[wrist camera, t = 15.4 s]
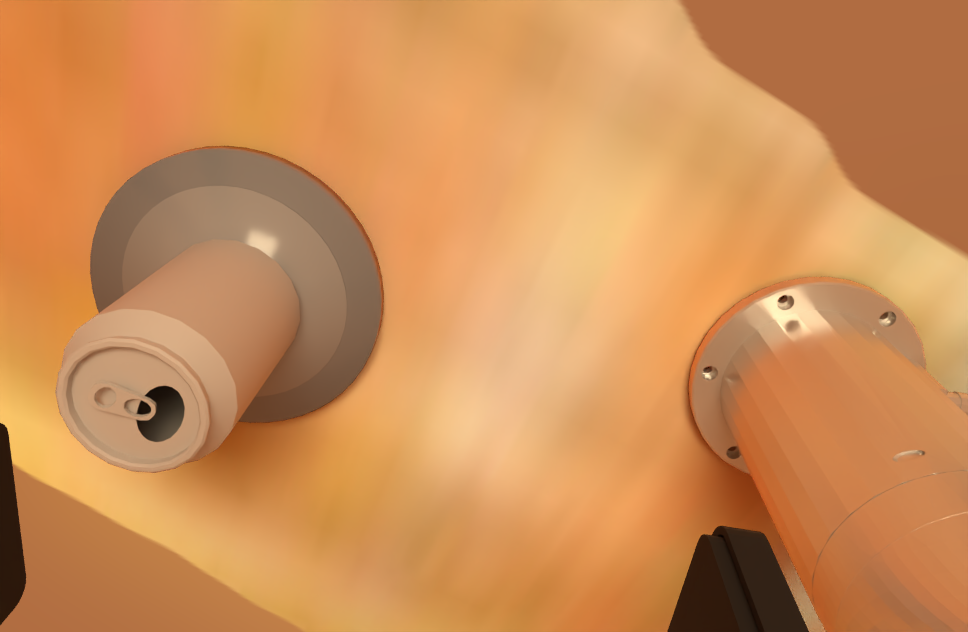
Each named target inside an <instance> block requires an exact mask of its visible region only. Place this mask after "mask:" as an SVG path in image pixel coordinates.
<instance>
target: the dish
mask: <svg viewBox="0 0 968 632" xmlns="http://www.w3.org/2000/svg"><path fill="white" fill-rule="evenodd" d="M212 239H220V240H236V241H239V242H242V243H244V244H247V245H250V246H253V247H255V248H258V249H259V250H261V251H262V252H264V253H265V254H266V255H268V256H269V257H271V258H272V259H273V260H275V261H276V262H277V263H278V264H279V265H280V267H281V268H282V269H283V270H284V272H285V273H286V274H287V275H288V277H289V278H290V279H291V281H292V284H293V286H294V289H295V291H296V294H297V296H298V299H299V308H300V322H299V326H298V329H297V332H296V336H295V339H294V340H293V342H292V343H291V345H290V346H289V347H288V349H287V350H286V352H285V353H284V355H283V356H282V358H281V359H280V361H279V362H278V364H277V365H276V366H275V368H274V369H273V371H272V372H271V374H270V375H269V377H268V378H267V380H266V381H265V383H264V384H263V386H262V387H261V388H260V390H259V391H258V393H257V394H256V396H255V397H254V399H253V400H252V402H251V403H250V405H249V406H248V407H247V409H246V410H245V412H244V413H243V415H242V416H241V418H240V419H239V421H241V422H250V423H251V422H274V421H282V420H287V419H291V418H295V417H298V416H302V415H304V414H307V413H309V412H312V411H314V410H316V409H318V408H320V407H322V406H324V405H325V404H327V403H329V402H330V401H332V400H333V399H334V398H336V397H337V396H338V395H340V394H341V393H342V392H343V391H344V390H345V389H346V388H347V387H348V386H349V385H350V384H351V383H352V382H353V381H354V380H355V378H356V377H357V376H358V374H359V373H360V371H361V370H362V369H363V367H364V365H365V363H366V361H367V359H368V358H369V356H370V354H371V352H372V349H373V347H374V345H375V342H376V339H377V336H378V333H379V330H380V326H381V321H382V315H383V302H384V292H383V282H382V275H381V271H380V267H379V263H378V259H377V256H376V254H375V251H374V249H373V246H372V244H371V241H370V239H369V237H368V236H367V234H366V232H365V230H364V228H363V226H362V225H361V223H360V222H359V220H358V219H357V218H356V216H355V215H354V213H353V212H352V211H351V209H350V208H349V207H348V206H347V205H346V204H345V202H344V201H343V200H342V199H341V198H340V197H339V196H338V195H337V194H336V193H335V192H334V191H333V190H332V189H330V188H329V187H328V186H327V185H326V184H325V183H323V182H322V181H321V180H320V179H318V178H317V177H315V176H314V175H312V174H311V173H309V172H308V171H306V170H305V169H303V168H301V167H299V166H297V165H295V164H293V163H291V162H289V161H288V160H286V159H283V158H280V157H277V156H275V155H272V154H269V153H267V152H262V151H258V150H254V149H249V148H243V147H233V146H208V147H202V148H196V149H190V150H186V151H183V152H180V153H177V154H174V155H171V156H169V157H166V158H164V159H162V160H160V161H158V162H156V163H154V164H152V165H150V166H148V167H146V168H144V169H142V170H141V171H140V172H138V173H137V174H136V175H134V176H133V177H131V178H130V179H129V180H128V181H127V182H126V183H125V184H124V185H123V186H122V187H121V188H120V189H119V190H118V191H117V192H116V193H115V195H114V196H113V197H112V199H111V200H110V202H109V203H108V204H107V206H106V208H105V210H104V212H103V214H102V216H101V218H100V220H99V222H98V225H97V228H96V231H95V234H94V238H93V243H92V250H91V263H90V274H91V282H92V289H93V294H94V298H95V301H96V305H97V309H98V311H99V313H100V312H101V311H103V310H104V309H105V308H107V307H108V306H109V305H111V304H112V303H114V302H115V301H116V300H118V299H119V298H120V297H122V296H123V295H124V294H126V293H127V292H129V291H130V290H131V289H133V288H134V287H135V286H137V285H138V284H139V283H141V282H142V281H144V280H145V279H146V278H148V277H149V276H150V275H152V274H153V273H154V272H156V271H157V270H159V269H160V268H161V267H163V266H164V265H165V264H167V263H168V262H169V261H171V260H172V259H174V258H175V257H176V256H178V255H179V254H181V253H182V252H183V251H185V250H186V249H188V248H189V247H191V246H192V245H193V244H197V243H201V242H205V241H209V240H212Z"/></svg>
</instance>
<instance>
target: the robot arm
mask: <svg viewBox="0 0 968 632" xmlns="http://www.w3.org/2000/svg"><path fill="white" fill-rule="evenodd" d="M783 295H785V297H784V298H783V299H782V300H778V299H779V298H780V297H781V296H783ZM883 313H884V314H883ZM882 314H883V315H882ZM881 315H882V316H881ZM708 366H710V368H708V369H704V368H706V367H708ZM689 398H690V406H691V409H692V413H693V416H694V419H695V422H696V424H697V426H698V428H699V430H700V432H701V435H702V437H703V438H704V440H705V441H706V442H707V444H708V445H709V446H710V447H711V449H712V450H713V451H714V452H715V453H716V454H717V455H718V456H719V457H720V458H721V459H722V460H724V461H725V462H726V463H728V464H730V465H731V466H733V467H735V468H737V469H738V470H740V471H742V472H744V473H747V474H750V475H751V476H752V478H753V481H754V483H755V485H756V487H757V489H758V491H759V493H760V495H761V497H762V499H763V502H764V504H765V506H766V508H767V510H768V512H769V514H770V516H771V518H772V521H773V523H774V525H775V527H776V529H777V531H778V533H779V535H780V537H781V540H782V542H783V544H784V546H785V548H786V550H787V552H788V554H789V556H790V558H791V561H792V563H793V565H794V567H795V569H796V571H797V573H798V575H799V577H800V580H801V582H802V584H803V586H804V588H805V590H806V592H807V594H808V596H809V599H810V601H811V603H812V605H813V607H814V609H815V611H816V613H817V615H818V617H819V620H820V621H821V623H822V625H823V627H824V629H825V631H826V632H968V394H967V393H960V392H948V391H947V390H946V389H945V388H944V387H943V386H942V385H941V384H940V383H939V382H938V381H936V380H935V379H934V378H933V377H932V376H931V375H930V374H929V373H928V372H927V371H926V359H925V354H924V349H923V344H922V341H921V339H920V337H919V335H918V333H917V330H916V328H915V326H914V325H913V324H912V322H911V321H910V320H909V319H908V317H907V316H906V315H905V313H904V312H903V311H902V310H901V309H900V308H898V307H897V306H896V305H895V304H894V303H893V302H891V301H890V300H889V299H888V298H886V297H885V296H883V295H881V294H880V293H878V292H877V291H875V290H874V289H872V288H870V287H867V286H865V285H862V284H859V283H856V282H854V281H851V280H845V279H839V278H833V277H804V278H799V279H794V280H788V281H783V282H780V283H777V284H775V285H772V286H769V287H766V288H764V289H761V290H759V291H757V292H755V293H754V294H752V295H750V296H748V297H747V298H745V299H743V300H741V301H740V302H739V303H737V304H736V305H735V306H734V307H732V308H731V309H730V310H729V311H727V312H726V313H725V314H724V315H722V317H721V318H720V319H719V320H718V321H717V322H716V323H715V325H714V326H713V327H712V328H711V329H710V330H709V332H708V333H707V335H706V336H705V338H704V340H703V341H702V343H701V345H700V347H699V348H698V350H697V353H696V356H695V358H694V361H693V364H692V367H691V372H690V380H689ZM25 584H26V573H25V564H24V556H23V549H22V540H21V532H20V524H19V516H18V508H17V499H16V492H15V484H14V475H13V467H12V459H11V451H10V443H9V435H8V431H7V428H6V427H5V425H4V424H1V423H0V625H1V624H2V622H3V621H4V620H5V619H6V618H7V617H8V615H9V614H10V613H11V612H12V611H13V609H14V608H15V606H16V605H17V604H18V603H19V601H20V599H21V597H22V594H23V591H24V589H25ZM668 632H809V631H808V629H807V626H806V624H805V622H804V620H803V618H802V615H801V613H800V611H799V609H798V606H797V604H796V602H795V600H794V597H793V595H792V593H791V591H790V589H789V586H788V584H787V582H786V580H785V577H784V575H783V573H782V571H781V568H780V566H779V564H778V562H777V560H776V557H775V555H774V553H773V551H772V548H771V546H770V544H769V542H768V540H767V538H766V536H765V535H764V534H763V533H761V532H757V531H751V530H744V529H738V528H732V527H725V526H719V527H717V528H716V529H715V530H714V532H713V534H712V535H705V534H704V535H702V536H701V537H700V539H699V541H698V543H697V546H696V549H695V552H694V555H693V558H692V561H691V564H690V567H689V570H688V573H687V576H686V579H685V582H684V585H683V587H682V590H681V593H680V596H679V599H678V602H677V605H676V608H675V611H674V614H673V617H672V620H671V623H670V626H669V629H668Z"/></svg>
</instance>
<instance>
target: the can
mask: <svg viewBox="0 0 968 632" xmlns="http://www.w3.org/2000/svg"><path fill="white" fill-rule="evenodd" d="M299 322H300V308H299V299H298V296H297V294H296V291H295V289H294V286H293V284H292V281H291V279H290V278H289V277H288V275H287V274H286V273H285V272H284V270H283V269H282V268H281V267H280V265H279V264H278V263H277V262H276V261H275V260H273V259H272V258H271V257H269V256H268V255H266V254H265V253H264V252H262V251H261V250H259V249H258V248H255V247H253V246H250V245H247V244H244V243H242V242H239V241H236V240H220V239H212V240H209V241H205V242H201V243H197V244H193V245H192V246H191V247H189V248H188V249H186V250H185V251H183V252H182V253H181V254H179V255H178V256H176V257H175V258H174V259H172V260H171V261H169V262H168V263H167V264H165V265H164V266H163V267H161V268H160V269H159V270H157V271H156V272H154V273H153V274H152V275H150V276H149V277H148V278H146V279H145V280H144V281H142V282H141V283H139V284H138V285H137V286H135V287H134V288H133V289H131V290H130V291H129V292H127V293H126V294H124V295H123V296H122V297H120V298H119V299H118V300H116V301H115V302H114V303H112V304H111V305H109V306H108V307H107V308H105V309H104V310H103V311H101V312H100V313H99V314H97V315H96V316H94V317H93V318H92V319H90V320H89V321H88V322H86V323H85V324H84V325H82V326H81V327H79V328H78V329H77V330H76V332H75V333H74V335H73V336H72V338H71V339H70V341H69V343H68V344H67V346H66V347H65V349H64V355H63V361H62V367H61V369H60V371H59V373H58V380H57V386H56V397H57V402H58V407H59V411H60V414H61V416H62V418H63V420H64V422H65V423H66V425H67V427H68V429H69V430H70V432H71V434H72V435H73V436H74V437H75V438H76V439H77V440H78V441H79V442H80V443H81V444H82V445H83V446H84V447H85V448H86V449H87V450H88V451H89V452H91V453H93V454H94V455H96V456H97V457H99V458H101V459H102V460H104V461H106V462H107V463H109V464H112V465H115V466H118V467H121V468H124V469H127V470H130V471H137V472H151V473H156V472H161V471H165V470H170V469H175V468H177V467H179V466H180V465H182V464H184V463H188V462H192V461H197V460H199V459H201V458H203V457H204V456H206V455H208V454H209V453H211V452H213V451H214V450H216V449H218V448H219V446H220V445H221V444H222V442H223V441H224V440H225V439H226V437H227V436H228V435H229V433H230V432H231V431H232V429H233V428H234V426H235V425H236V424H237V422H238V421H239V419H240V418H241V416H242V415H243V413H244V412H245V410H246V409H247V407H248V406H249V405H250V403H251V402H252V400H253V399H254V397H255V396H256V394H257V393H258V391H259V390H260V388H261V387H262V386H263V384H264V383H265V381H266V380H267V378H268V377H269V375H270V374H271V372H272V371H273V369H274V368H275V366H276V365H277V364H278V362H279V361H280V359H281V358H282V356H283V355H284V353H285V352H286V350H287V349H288V347H289V346H290V345H291V343H292V342H293V340H294V339H295V336H296V332H297V329H298V326H299Z"/></svg>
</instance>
